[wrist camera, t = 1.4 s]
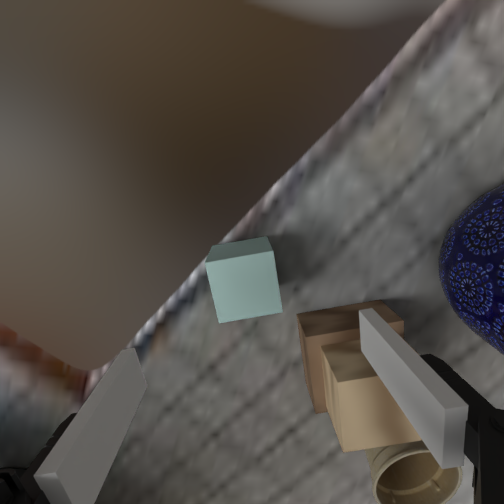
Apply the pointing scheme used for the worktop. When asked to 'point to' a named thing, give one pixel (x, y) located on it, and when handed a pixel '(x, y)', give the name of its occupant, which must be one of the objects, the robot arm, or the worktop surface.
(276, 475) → the worktop surface
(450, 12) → the worktop surface
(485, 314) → the planter
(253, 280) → the teal cube
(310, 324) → the tower base
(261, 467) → the worktop surface
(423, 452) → the flower pot
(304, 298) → the worktop surface
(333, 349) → the tower top
